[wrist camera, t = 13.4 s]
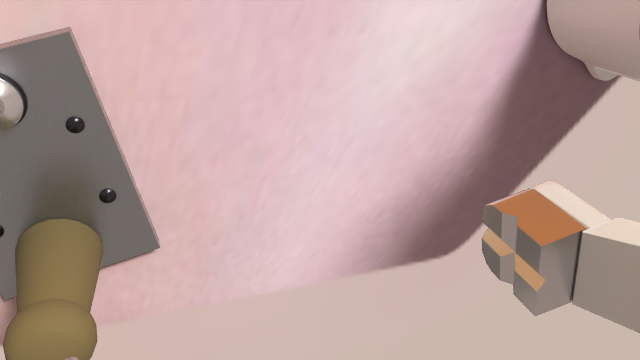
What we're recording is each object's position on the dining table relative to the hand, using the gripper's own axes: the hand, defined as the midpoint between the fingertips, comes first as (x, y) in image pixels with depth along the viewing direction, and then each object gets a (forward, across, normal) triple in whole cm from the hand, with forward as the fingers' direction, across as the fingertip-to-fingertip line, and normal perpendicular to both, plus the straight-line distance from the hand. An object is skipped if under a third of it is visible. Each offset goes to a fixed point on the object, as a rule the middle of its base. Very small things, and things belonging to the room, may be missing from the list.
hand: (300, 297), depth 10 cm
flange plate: (+31, +12, +10) cm, 35 cm away
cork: (+30, +13, +16) cm, 37 cm away
